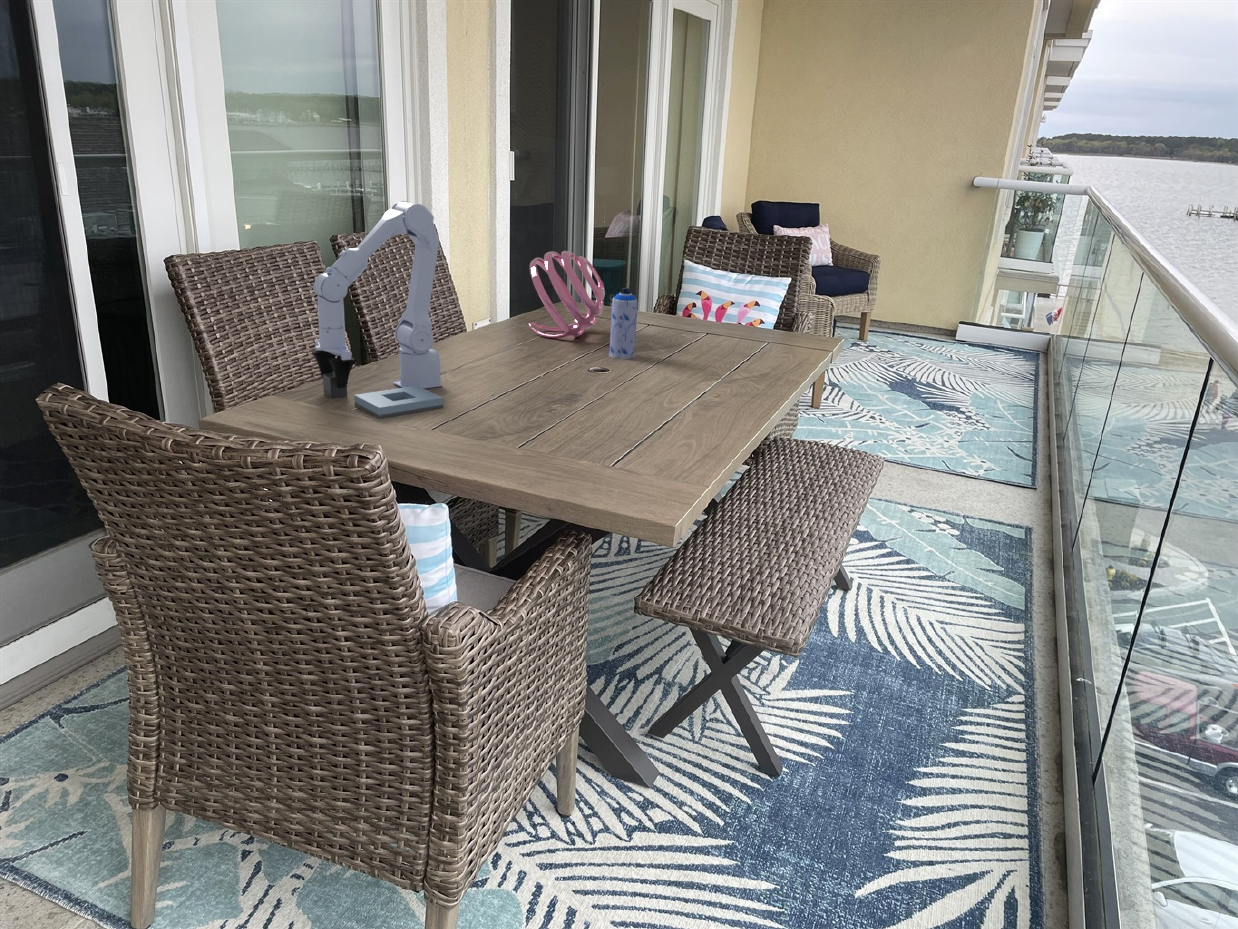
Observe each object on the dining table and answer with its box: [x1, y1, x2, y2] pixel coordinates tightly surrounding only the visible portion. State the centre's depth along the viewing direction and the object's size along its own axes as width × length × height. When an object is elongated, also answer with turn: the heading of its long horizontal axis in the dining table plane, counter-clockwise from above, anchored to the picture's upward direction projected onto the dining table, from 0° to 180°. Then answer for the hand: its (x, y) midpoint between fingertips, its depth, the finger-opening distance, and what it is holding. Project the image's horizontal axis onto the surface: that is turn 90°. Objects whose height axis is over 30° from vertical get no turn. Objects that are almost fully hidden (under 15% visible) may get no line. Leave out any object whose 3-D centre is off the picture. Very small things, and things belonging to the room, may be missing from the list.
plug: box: [322, 372, 348, 399], centre depth 212 cm, size 4×4×5 cm
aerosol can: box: [608, 287, 639, 360], centre depth 264 cm, size 8×8×20 cm
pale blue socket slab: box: [354, 386, 444, 419], centre depth 206 cm, size 16×12×2 cm
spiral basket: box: [528, 250, 606, 340], centre depth 286 cm, size 28×28×27 cm
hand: (334, 383), depth 212 cm, fingers open, 7 cm apart
